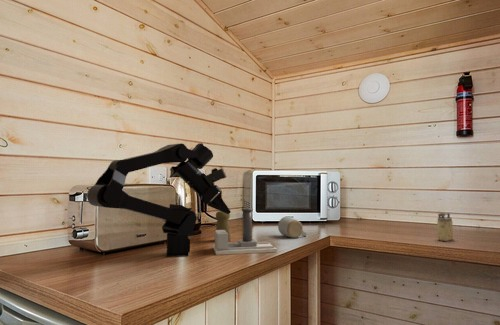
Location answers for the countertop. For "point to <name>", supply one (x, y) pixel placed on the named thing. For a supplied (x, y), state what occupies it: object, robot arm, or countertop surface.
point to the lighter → (444, 227)
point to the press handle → (247, 229)
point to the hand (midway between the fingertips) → (228, 211)
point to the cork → (223, 222)
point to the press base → (234, 248)
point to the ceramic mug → (291, 227)
